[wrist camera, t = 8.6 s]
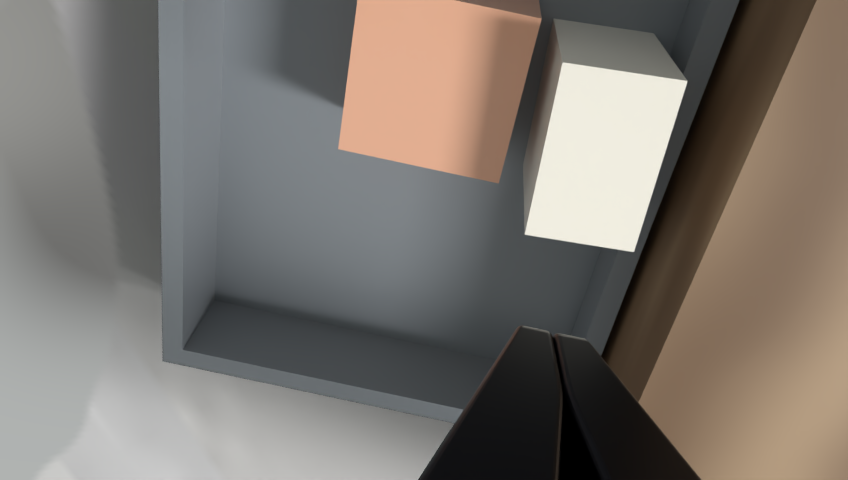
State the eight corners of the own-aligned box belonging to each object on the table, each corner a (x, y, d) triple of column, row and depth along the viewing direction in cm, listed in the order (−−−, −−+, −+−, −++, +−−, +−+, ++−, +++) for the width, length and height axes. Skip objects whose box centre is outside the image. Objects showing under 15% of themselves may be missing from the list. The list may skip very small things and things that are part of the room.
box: (856, -394, 14) (936, -449, 11) (569, 382, 24) (576, 449, 21) (218, -522, 14) (150, -605, 11) (201, 304, 24) (162, 360, 21)
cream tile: (687, 81, 14) (562, 62, 14) (633, 251, 16) (524, 234, 16) (653, 33, 18) (553, 18, 18) (612, 179, 20) (523, 164, 20)
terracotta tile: (359, -20, 15) (378, -38, 18) (338, 149, 17) (357, 114, 20) (541, 18, 15) (538, -4, 17) (498, 183, 17) (500, 145, 19)
